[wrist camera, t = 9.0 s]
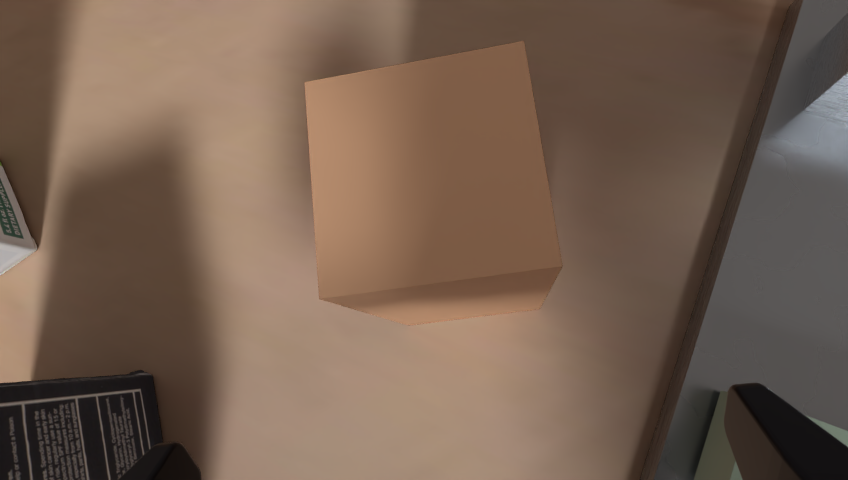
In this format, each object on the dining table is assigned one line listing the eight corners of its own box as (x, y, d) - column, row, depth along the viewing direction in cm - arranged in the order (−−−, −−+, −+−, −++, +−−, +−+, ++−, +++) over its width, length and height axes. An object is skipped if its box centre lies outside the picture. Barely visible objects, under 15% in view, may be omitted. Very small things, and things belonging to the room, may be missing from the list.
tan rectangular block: (539, 309, 20) (562, 266, 11) (408, 325, 21) (319, 299, 11) (519, 182, 22) (524, 40, 12) (395, 201, 22) (304, 82, 13)
